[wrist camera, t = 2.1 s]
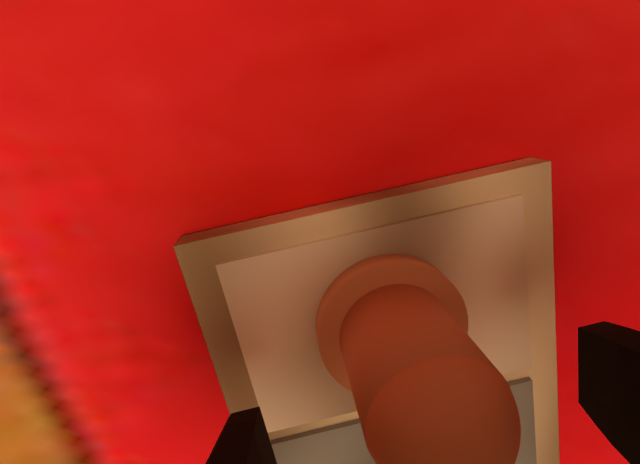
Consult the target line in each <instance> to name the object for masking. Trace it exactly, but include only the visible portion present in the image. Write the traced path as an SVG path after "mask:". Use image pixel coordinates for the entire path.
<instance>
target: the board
mask: <svg viewBox="0 0 640 464" xmlns="http://www.w3.org/2000/svg"><path fill="white" fill-rule="evenodd" d="M173 247H174V250H175V253H176V256H177V259H178V262H179V265H180V268H181V271H182V274H183V277H184V280H185V282H186V285H187V288H188V291H189V294H190V297H191V300H192V303H193V306H194V309H195V312H196V315H197V318H198V321H199V324H200V327H201V330H202V333H203V336H204V339H205V342H206V345H207V348H208V351H209V353H210V356H211V359H212V362H213V365H214V368H215V371H216V374H217V377H218V380H219V383H220V386H221V389H222V392H223V395H224V398H225V401H226V404H227V407H228V410H229V413H230V415H231V414H232V413H235V412H239V411H243V410H247V409H251V408H255V407H259V406H260V410H261V413H262V416H263V419H264V423H265V426H266V429H267V432H268V436H269V439H270V442H271V445H272V448H273V452H274V455H275V458H276V461H277V464H376V463H375V461H374V459H373V458H372V456H371V455H370V453H369V451H368V449H367V445H366V442H365V439H364V435H363V431H362V427H361V424H360V420H359V416H358V412H357V409H356V405H355V401H354V397H353V394H352V392H351V391H349V390H348V389H346V388H344V387H343V386H342V385H340V384H339V383H338V382H337V381H336V380H335V379H334V378H333V377H332V376H331V375H330V373H329V372H328V370H327V369H326V367H325V365H324V363H323V361H322V358H321V355H320V351H319V345H318V339H317V333H316V316H317V311H318V307H319V304H320V301H321V299H322V297H323V295H324V293H325V292H326V290H327V288H328V287H329V286H330V284H331V283H332V282H333V281H334V279H335V278H336V277H338V276H339V275H340V274H341V273H342V272H343V271H344V270H346V269H347V268H348V267H350V266H352V265H353V264H355V263H357V262H359V261H361V260H364V259H366V258H369V257H373V256H376V255H382V254H406V255H410V256H414V257H417V258H420V259H423V260H424V261H426V262H428V263H430V264H431V265H433V266H434V267H436V268H437V269H438V270H439V271H440V272H441V273H442V274H443V275H444V276H445V277H446V278H447V279H448V280H449V281H450V282H451V283H452V284H453V285H454V286H455V287H456V289H457V290H458V291H459V293H460V294H461V296H462V298H463V300H464V303H465V306H466V309H467V314H468V335H469V337H470V338H471V339H472V340H473V341H474V342H475V344H476V345H477V346H478V347H479V348H480V350H481V351H482V352H483V353H484V354H485V355H486V357H487V358H488V359H489V360H490V361H491V362H492V364H493V365H494V366H495V367H496V368H497V369H498V371H499V372H500V373H501V374H502V375H503V377H504V378H505V379H506V381H507V382H508V384H509V386H510V388H511V391H512V394H513V396H514V398H515V401H516V404H517V408H518V411H519V417H520V424H521V440H520V448H519V452H518V455H517V459H516V462H515V464H560V461H559V426H558V390H557V355H556V320H555V285H554V250H553V214H552V179H551V161H548V160H543V159H537V158H532V157H529V158H524V159H520V160H515V161H511V162H507V163H502V164H498V165H493V166H489V167H484V168H480V169H475V170H471V171H467V172H462V173H458V174H453V175H449V176H444V177H440V178H436V179H431V180H427V181H422V182H418V183H413V184H409V185H405V186H400V187H396V188H391V189H387V190H382V191H378V192H373V193H369V194H365V195H360V196H356V197H351V198H347V199H342V200H338V201H334V202H329V203H325V204H320V205H316V206H311V207H307V208H303V209H298V210H294V211H289V212H285V213H280V214H276V215H271V216H267V217H263V218H258V219H254V220H249V221H245V222H240V223H236V224H232V225H227V226H223V227H218V228H214V229H209V230H205V231H201V232H196V233H192V234H187V235H183V236H181V237H180V238H179V240H178V241H177V242H176V244H175V245H174V246H173Z"/></svg>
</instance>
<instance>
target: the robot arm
mask: <svg viewBox="0 0 640 464" xmlns="http://www.w3.org/2000/svg"><path fill="white" fill-rule="evenodd" d="M578 375H579V403H580V405H581V406H582V407H583V409H584V410H585V411H586V413H587V414H588V415H589V416H590V418H591V419H592V420H593V422H594V423H595V424H596V426H597V427H598V428H599V429H600V430H601V432H602V433H603V434H604V435H605V437H606V438H607V439H608V440H609V441H610V443H611V444H612V445H613V446H614V447H615V448H616V449H617V450H618V451H619V452H620V454H621V455H622V456H623V457H624V458H625V459H626V460H627V461H628V462H629V463H630V464H640V331H637V330H634V329H630V328H627V327H623V326H620V325H616V324H613V323H609V322H605V321H604V322H600V323H596V324H592V325H587V326H583V327H579V328H578ZM206 464H277V461H276V458H275V455H274V452H273V448H272V445H271V442H270V439H269V436H268V432H267V429H266V426H265V423H264V419H263V416H262V413H261V410H260V406H259V407H255V408H251V409H247V410H243V411H239V412H235V413H232V414H231V415H230V416H229V418H228V420H227V422H226V424H225V426H224V428H223V430H222V432H221V434H220V436H219V438H218V440H217V442H216V444H215V446H214V448H213V450H212V452H211V454H210V456H209V458H208V460H207V462H206Z"/></svg>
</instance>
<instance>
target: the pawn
mask: <svg viewBox="0 0 640 464" xmlns="http://www.w3.org/2000/svg"><path fill="white" fill-rule="evenodd" d="M316 333H317V339H318V345H319V351H320V355H321V358H322V361H323V363H324V365H325V367H326V369H327V370H328V372H329V373H330V375H331V376H332V377H333V378H334V379H335V380H336V381H337V382H338V383H339V384H340V385H342V386H343V387H344V388H346V389H348V390H349V391H351V392H352V394H353V397H354V401H355V405H356V409H357V412H358V416H359V420H360V424H361V427H362V431H363V435H364V439H365V442H366V445H367V449H368V451H369V453H370V455H371V456H372V458H373V459H374V461H375V463H376V464H515V462H516V459H517V455H518V452H519V448H520V440H521V424H520V417H519V411H518V408H517V404H516V401H515V398H514V396H513V394H512V391H511V388H510V386H509V384H508V382H507V381H506V379H505V378H504V377H503V375H502V374H501V373H500V372H499V371H498V369H497V368H496V367H495V366H494V365H493V364H492V362H491V361H490V360H489V359H488V358H487V357H486V355H485V354H484V353H483V352H482V351H481V350H480V348H479V347H478V346H477V345H476V344H475V342H474V341H473V340H472V339H471V338H470V337H469V335H468V314H467V309H466V306H465V303H464V300H463V298H462V296H461V294H460V293H459V291H458V290H457V289H456V287H455V286H454V285H453V284H452V283H451V282H450V281H449V280H448V279H447V278H446V277H445V276H444V275H443V274H442V273H441V272H440V271H439V270H438V269H437V268H436V267H434V266H433V265H431V264H430V263H428V262H426V261H424V260H423V259H420V258H417V257H414V256H410V255H406V254H382V255H376V256H373V257H369V258H366V259H364V260H361V261H359V262H357V263H355V264H353V265H352V266H350V267H348V268H347V269H346V270H344V271H343V272H342V273H341V274H340V275H339V276H338V277H336V278H335V279H334V281H333V282H332V283H331V284H330V286H329V287H328V288H327V290H326V292H325V293H324V295H323V297H322V299H321V301H320V304H319V307H318V311H317V316H316Z"/></svg>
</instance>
